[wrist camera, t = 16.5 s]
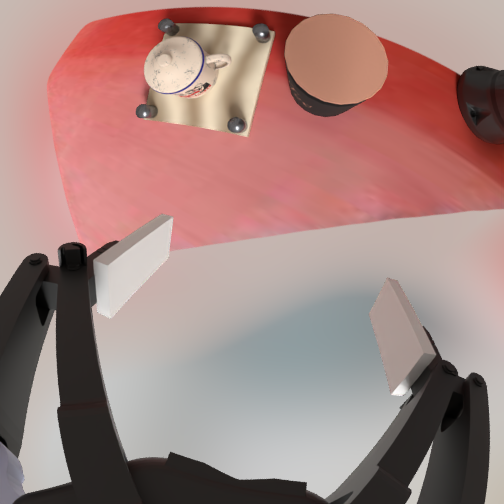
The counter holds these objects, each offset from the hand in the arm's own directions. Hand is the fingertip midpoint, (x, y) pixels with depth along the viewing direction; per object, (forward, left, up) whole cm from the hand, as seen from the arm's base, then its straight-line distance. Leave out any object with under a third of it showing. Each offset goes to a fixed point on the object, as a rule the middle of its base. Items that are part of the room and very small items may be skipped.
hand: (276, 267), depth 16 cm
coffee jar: (-1, -17, -32) cm, 36 cm away
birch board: (+18, -15, -32) cm, 39 cm away
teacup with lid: (+18, -15, -30) cm, 38 cm away
